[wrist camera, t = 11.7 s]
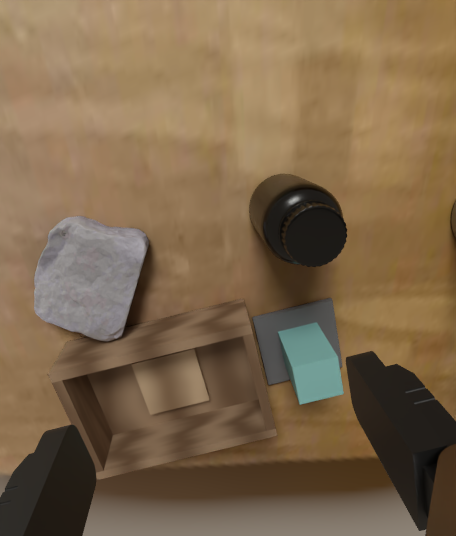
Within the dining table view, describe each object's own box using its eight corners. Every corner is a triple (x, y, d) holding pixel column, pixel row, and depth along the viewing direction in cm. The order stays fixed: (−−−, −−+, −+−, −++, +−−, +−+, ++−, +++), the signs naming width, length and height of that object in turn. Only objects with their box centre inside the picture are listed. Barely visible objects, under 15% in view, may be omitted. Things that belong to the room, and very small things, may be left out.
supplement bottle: (310, 239, 42) (353, 282, 31) (246, 238, 41) (266, 281, 30) (318, 172, 40) (367, 192, 28) (250, 170, 39) (273, 190, 28)
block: (316, 322, 45) (337, 356, 38) (322, 355, 46) (343, 393, 40) (277, 331, 45) (292, 367, 38) (284, 364, 46) (299, 404, 40)
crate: (243, 298, 44) (250, 324, 38) (267, 399, 48) (277, 435, 43) (66, 342, 44) (47, 374, 38) (108, 438, 49) (97, 479, 43)
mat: (330, 297, 44) (332, 300, 44) (340, 364, 48) (342, 366, 47) (252, 317, 44) (253, 319, 44) (267, 382, 48) (268, 385, 47)
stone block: (46, 304, 44) (131, 333, 44) (20, 321, 39) (115, 353, 39) (67, 202, 41) (159, 233, 41) (42, 206, 36) (145, 241, 36)
